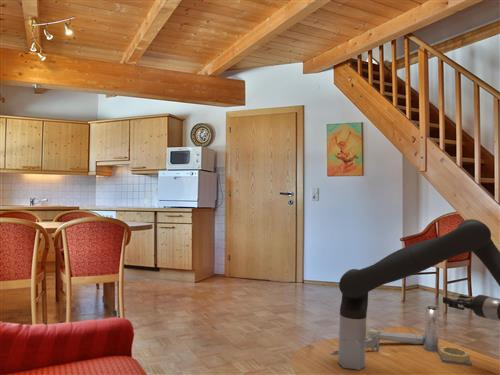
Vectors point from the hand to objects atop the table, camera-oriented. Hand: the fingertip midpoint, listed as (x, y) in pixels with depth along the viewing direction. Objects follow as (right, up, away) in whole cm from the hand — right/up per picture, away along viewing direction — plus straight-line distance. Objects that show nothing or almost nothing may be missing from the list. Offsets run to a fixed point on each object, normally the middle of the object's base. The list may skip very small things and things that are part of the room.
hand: (451, 298), depth 155 cm
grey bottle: (-4, -22, +8) cm, 24 cm away
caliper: (-36, -21, +2) cm, 42 cm away
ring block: (+1, -22, -1) cm, 22 cm away
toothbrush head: (-18, -22, +13) cm, 31 cm away
